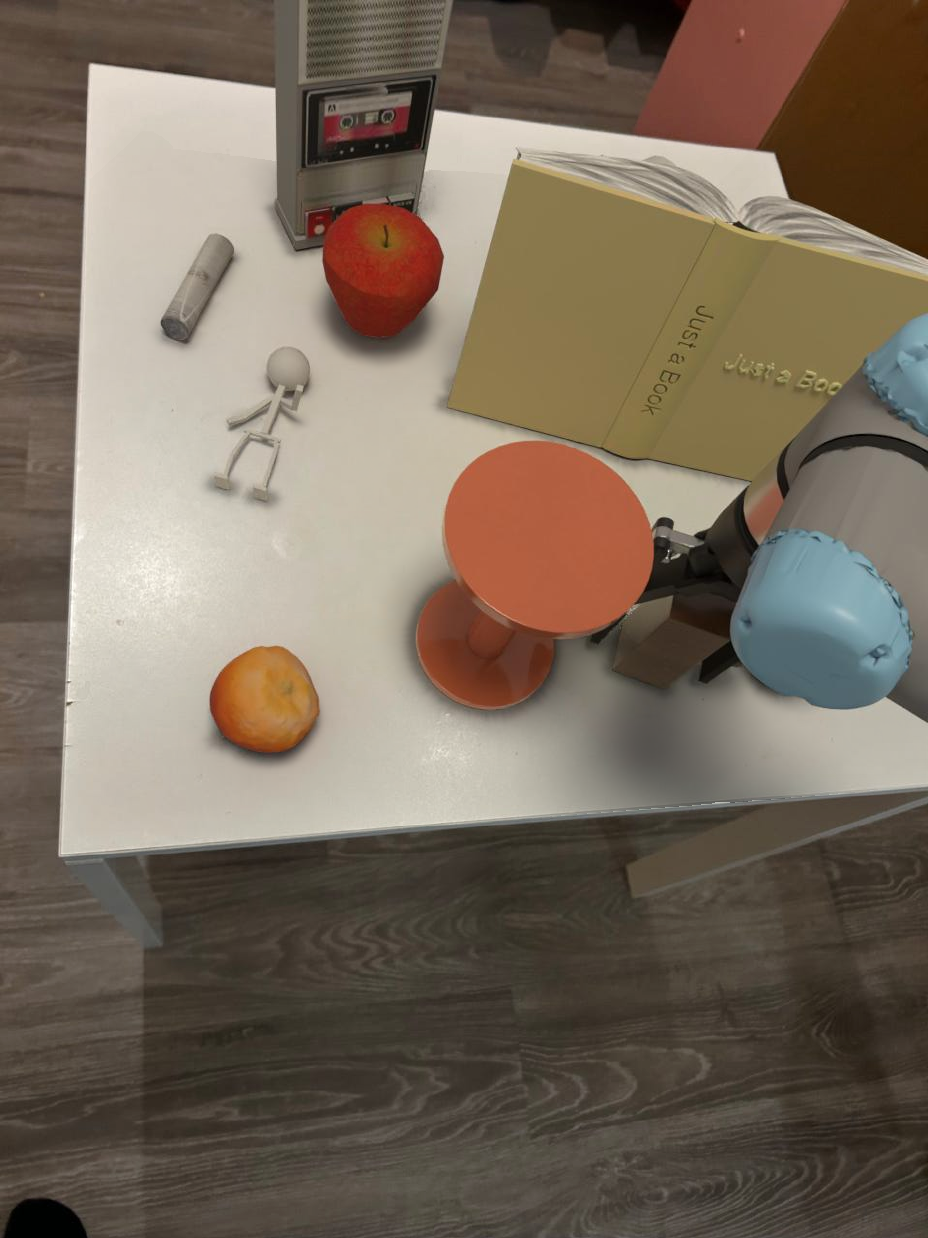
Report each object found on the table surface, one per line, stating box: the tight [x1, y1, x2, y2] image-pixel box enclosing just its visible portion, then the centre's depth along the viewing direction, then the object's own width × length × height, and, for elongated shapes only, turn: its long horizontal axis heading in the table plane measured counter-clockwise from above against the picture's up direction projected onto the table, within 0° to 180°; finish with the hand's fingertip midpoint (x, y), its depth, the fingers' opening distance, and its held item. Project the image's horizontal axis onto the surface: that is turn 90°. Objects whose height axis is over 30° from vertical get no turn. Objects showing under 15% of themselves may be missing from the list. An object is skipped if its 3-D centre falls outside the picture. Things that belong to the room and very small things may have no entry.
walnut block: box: [612, 593, 737, 690], centre depth 68 cm, size 5×5×12 cm
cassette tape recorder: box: [273, 0, 454, 250], centre depth 75 cm, size 14×6×25 cm, turn 115°
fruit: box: [208, 645, 321, 754], centre depth 62 cm, size 8×8×8 cm
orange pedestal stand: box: [415, 440, 654, 711], centre depth 62 cm, size 14×14×20 cm
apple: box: [321, 204, 445, 338], centre depth 76 cm, size 11×11×12 cm
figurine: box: [213, 346, 311, 502], centre depth 72 cm, size 6×6×15 cm
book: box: [446, 146, 928, 482], centre depth 73 cm, size 36×8×24 cm, turn 82°
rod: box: [160, 233, 235, 341], centre depth 78 cm, size 12×3×3 cm, turn 165°
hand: (651, 649), depth 72 cm, fingers open, 9 cm apart
